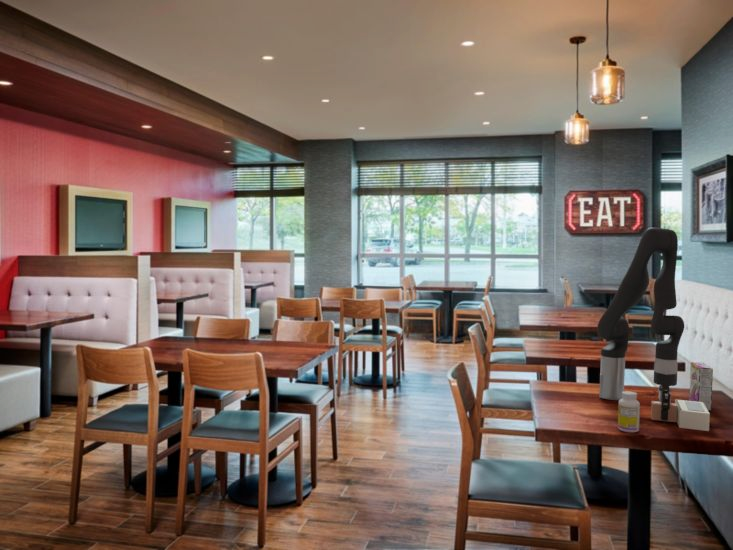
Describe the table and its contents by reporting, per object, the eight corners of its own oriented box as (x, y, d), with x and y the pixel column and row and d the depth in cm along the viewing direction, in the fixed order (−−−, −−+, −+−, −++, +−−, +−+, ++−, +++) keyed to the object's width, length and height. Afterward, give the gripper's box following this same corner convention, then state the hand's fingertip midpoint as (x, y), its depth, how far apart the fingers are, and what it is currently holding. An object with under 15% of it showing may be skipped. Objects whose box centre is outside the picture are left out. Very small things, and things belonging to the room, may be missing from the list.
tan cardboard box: (651, 419, 218) (652, 403, 218) (650, 416, 222) (651, 400, 221) (676, 422, 215) (677, 405, 215) (675, 419, 219) (676, 402, 218)
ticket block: (679, 427, 209) (680, 410, 209) (674, 415, 224) (675, 398, 224) (708, 431, 206) (709, 413, 206) (702, 418, 221) (702, 401, 221)
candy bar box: (688, 402, 243) (690, 361, 242) (701, 403, 242) (703, 362, 241) (697, 409, 232) (699, 367, 231) (711, 410, 231) (713, 368, 230)
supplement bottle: (624, 425, 211) (625, 389, 210) (642, 430, 206) (644, 393, 205) (613, 429, 207) (615, 392, 206) (632, 434, 201) (634, 396, 201)
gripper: (652, 366, 225) (650, 411, 226) (655, 374, 212) (653, 421, 213) (675, 368, 223) (673, 413, 224) (679, 376, 209) (677, 424, 210)
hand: (663, 417), depth 218 cm, fingers open, 5 cm apart
